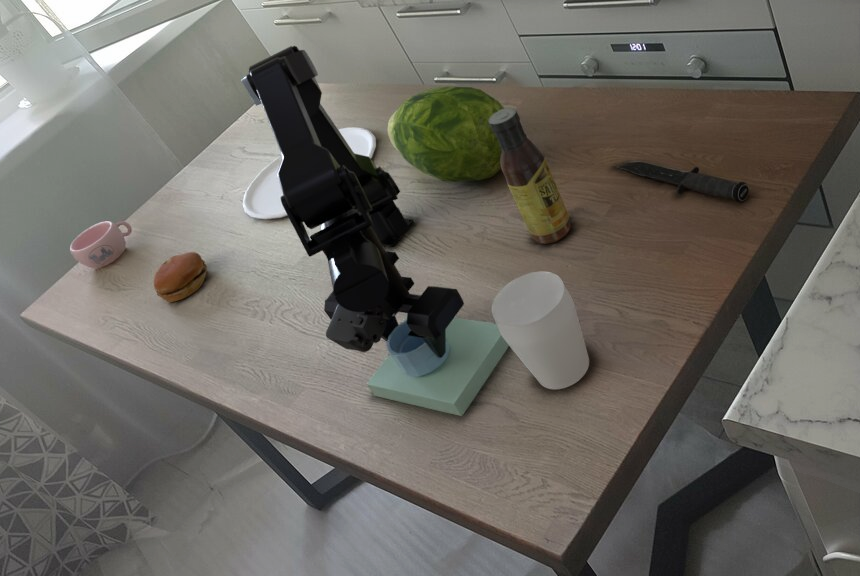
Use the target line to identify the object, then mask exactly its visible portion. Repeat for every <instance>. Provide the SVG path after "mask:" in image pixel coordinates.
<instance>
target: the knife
mask: <svg viewBox="0 0 860 576" xmlns="http://www.w3.org/2000/svg"><path fill="white" fill-rule="evenodd" d="M616 168H618V169H622V170H625V171H627V172H630V173H632V174H635V175H637V176H641V177H644V178H647V179H651V180H655V181H659V182H663V183H666V184H670V185H675V186H677V188H676V194H678V195H682V193H683V191H684V190H685V189H688V190H691V191H695V192H698V193H702V194H704V195H705V194H706V195H710V196H714V197H719V198H725V199H732V200H733V201H734V202H737V203H742V202H744V201H745V200H746V199H747V198H748V197H749V194H750V187H749V185H748V184H747V182H745V181H738V182H736V181H733V180H730V179H727V178H722V177H719V176H714V175H710V174H703V173H700V168H699V167H698V166H694V167H693V168H692V169H691V170H690V171H688V170H685V171H684V170H680V169H676V168H670V167H667V166H662V165H659V164H654V163H652V162H647V161H641V160H634V161H629V162H625V163H622V164H620V165H617V166H616Z"/></svg>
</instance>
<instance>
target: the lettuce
mask: <svg viewBox="0 0 860 576" xmlns="http://www.w3.org/2000/svg"><path fill="white" fill-rule="evenodd" d="M502 109H505V107H504V106H503V105H502V103H501V102H500V101H499V100H497V99H496V98H494V97H492V96H491V95H489V94H488V93H486V92H485V91H484V90H482V89H480V88H475V87H472V86H471V87H470V86H437V87H432V88H429V89H427V90H424V91H422V92H419V93H417V94H413V95H412V96H410V97H409V98H407V99H405V101H404V102H402V104H401V105H400V106H399V107H397V109H396V111H394V113H392V115H391V116H390V118H389V120H388V123H387V135H388V138H389V141H390V143H391V144H392V146H393V147H394V149H395V150H396V151H397V152H398V153H399V154H400V155H401V157H402V158H403V160H405V161H406V162H407V164H409V165H411V166H412V167H413V168H415V169H416V170H418V171H419V172H421V173H423V174H425V175H428V176H431V177H433V178H436V179H438V180H439V181H442V182H447V183H448V182H450V183H460V182H462V183H463V182H470V181H482V180H486V179H489V178H492V177H494V176H495V175H496V174H497V173H498V172H499V171H500V170H502V169H501V164H500V158H501V157H500V156H501V154H502V148H501V147H500V145H499V141H498V139H497V137H496V134H495V132H494V131H493V130H492V129H491V127H490V124H489V118H490V117H491V116H492V115H493V114H494V113H496V112H498V111H499V110H502Z"/></svg>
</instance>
